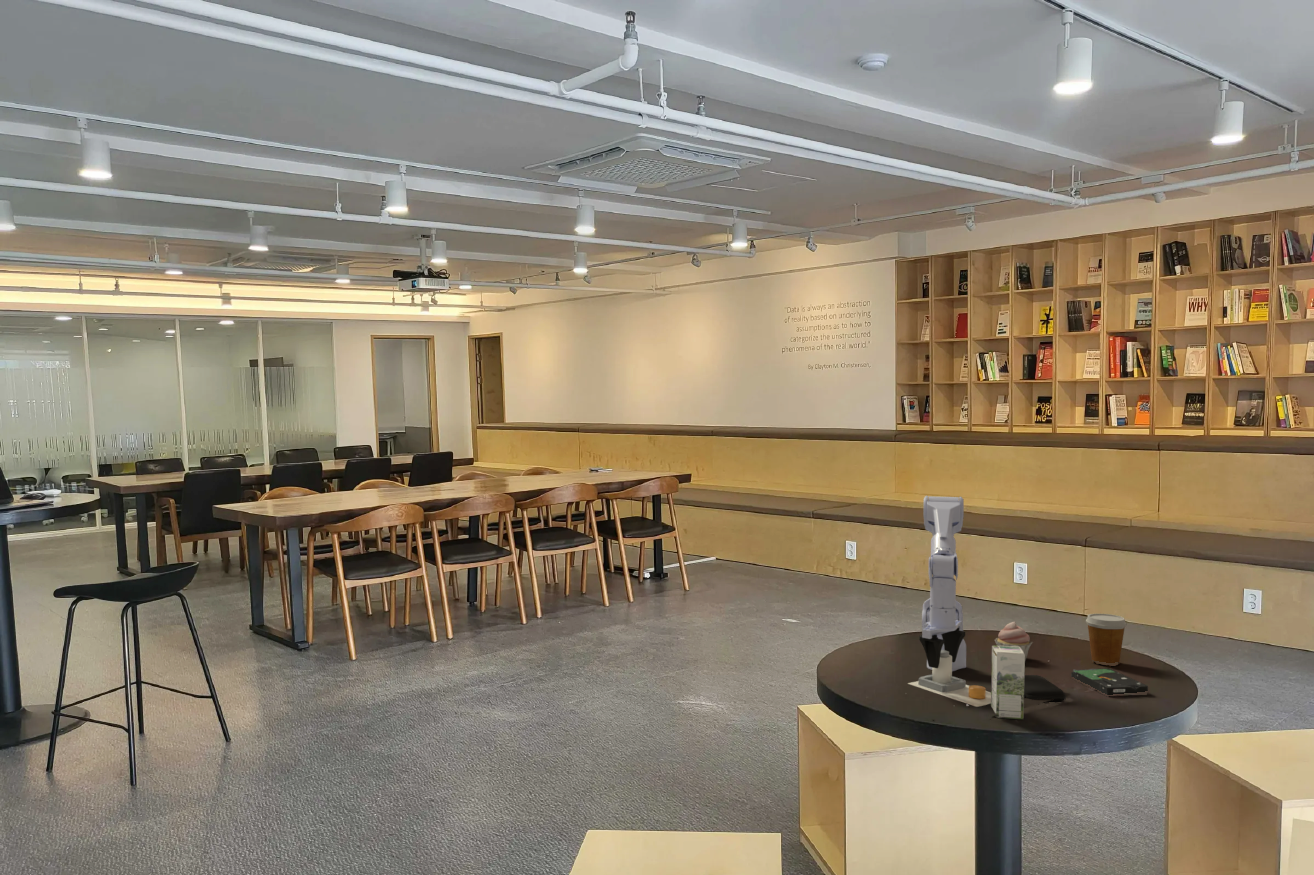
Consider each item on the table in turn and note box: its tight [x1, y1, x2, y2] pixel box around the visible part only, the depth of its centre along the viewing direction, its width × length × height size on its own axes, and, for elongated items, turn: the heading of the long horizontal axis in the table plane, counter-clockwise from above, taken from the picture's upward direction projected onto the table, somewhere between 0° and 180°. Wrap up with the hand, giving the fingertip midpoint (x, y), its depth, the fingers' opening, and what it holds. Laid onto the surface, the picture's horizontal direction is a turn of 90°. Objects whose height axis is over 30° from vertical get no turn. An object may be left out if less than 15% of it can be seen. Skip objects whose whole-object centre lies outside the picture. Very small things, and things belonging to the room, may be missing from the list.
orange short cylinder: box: [969, 684, 987, 699], centre depth 207 cm, size 4×4×2 cm
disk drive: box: [1070, 667, 1149, 695], centre depth 218 cm, size 10×3×15 cm
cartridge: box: [931, 650, 953, 685], centre depth 215 cm, size 4×4×8 cm
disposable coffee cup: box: [1085, 613, 1127, 663], centre depth 238 cm, size 10×10×12 cm
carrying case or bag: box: [1024, 674, 1067, 704], centre depth 212 cm, size 11×3×15 cm
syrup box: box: [990, 644, 1026, 720], centre depth 197 cm, size 6×6×14 cm
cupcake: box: [994, 621, 1034, 661], centre depth 242 cm, size 9×9×10 cm
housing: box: [907, 674, 991, 708], centre depth 211 cm, size 11×20×2 cm, turn 32°
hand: (942, 664), depth 215 cm, fingers open, 7 cm apart
